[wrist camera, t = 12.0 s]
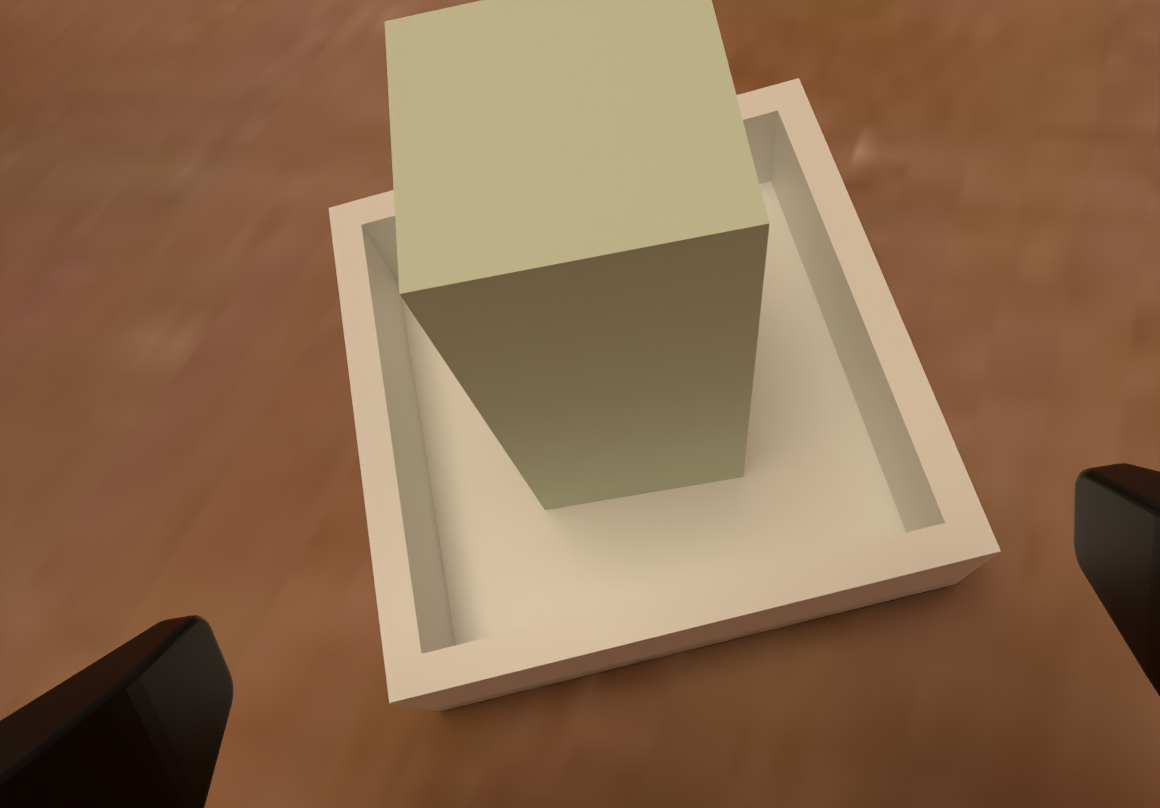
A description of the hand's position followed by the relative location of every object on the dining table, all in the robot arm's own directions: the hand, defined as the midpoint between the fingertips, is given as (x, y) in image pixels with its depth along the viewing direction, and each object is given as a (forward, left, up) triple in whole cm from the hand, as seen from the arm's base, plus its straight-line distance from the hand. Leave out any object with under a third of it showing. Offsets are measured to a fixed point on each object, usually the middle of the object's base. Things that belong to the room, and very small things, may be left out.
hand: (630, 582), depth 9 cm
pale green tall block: (+7, -1, -12) cm, 14 cm away
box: (+7, -1, -12) cm, 14 cm away
